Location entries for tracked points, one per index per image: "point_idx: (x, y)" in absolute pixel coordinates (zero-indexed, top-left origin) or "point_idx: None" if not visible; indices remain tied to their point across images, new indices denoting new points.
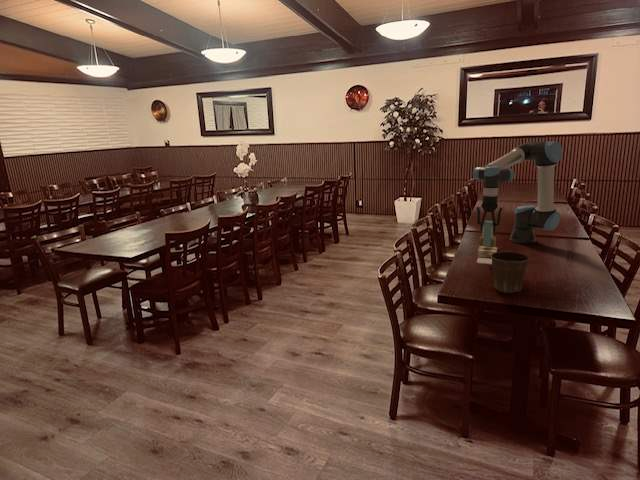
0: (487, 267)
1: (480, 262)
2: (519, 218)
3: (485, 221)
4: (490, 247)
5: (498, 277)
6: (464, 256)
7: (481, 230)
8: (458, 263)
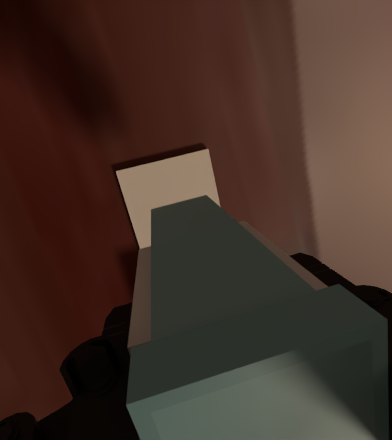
0: (129, 101)
1: (188, 154)
2: None
3: (354, 414)
4: None
5: None
6: (292, 229)
7: (294, 258)
8: (290, 90)
